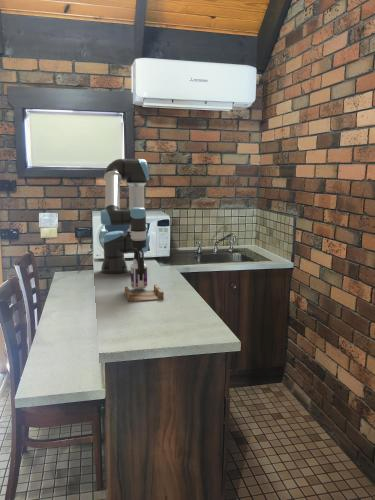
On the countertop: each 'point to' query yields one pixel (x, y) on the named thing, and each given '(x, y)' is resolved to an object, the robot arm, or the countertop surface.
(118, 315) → the countertop surface
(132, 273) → the pill bottle
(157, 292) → the cradle
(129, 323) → the countertop surface
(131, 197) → the robot arm
